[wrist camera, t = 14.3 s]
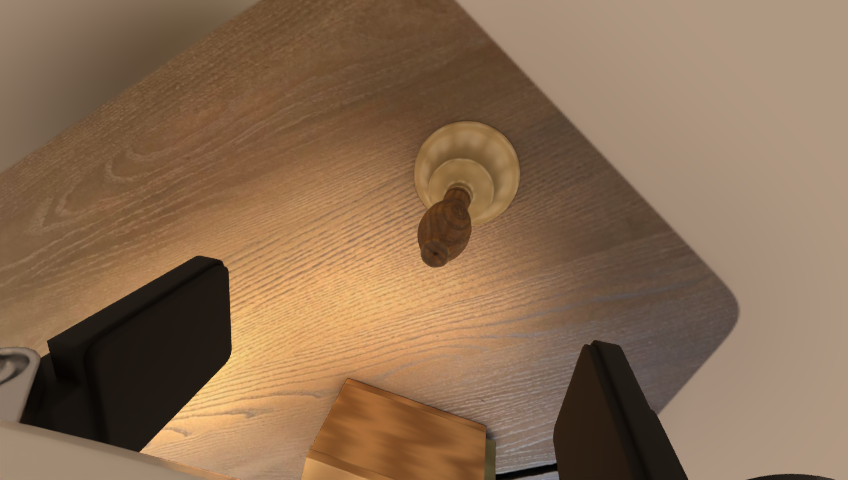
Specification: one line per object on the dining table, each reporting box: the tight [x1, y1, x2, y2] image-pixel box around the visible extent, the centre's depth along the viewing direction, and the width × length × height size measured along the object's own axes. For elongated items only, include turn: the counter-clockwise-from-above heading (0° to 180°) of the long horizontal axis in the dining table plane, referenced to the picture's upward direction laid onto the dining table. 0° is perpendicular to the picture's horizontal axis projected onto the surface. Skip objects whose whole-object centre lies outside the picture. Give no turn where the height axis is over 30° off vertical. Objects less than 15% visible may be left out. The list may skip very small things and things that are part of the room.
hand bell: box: [414, 121, 520, 267], centre depth 25 cm, size 8×8×16 cm
